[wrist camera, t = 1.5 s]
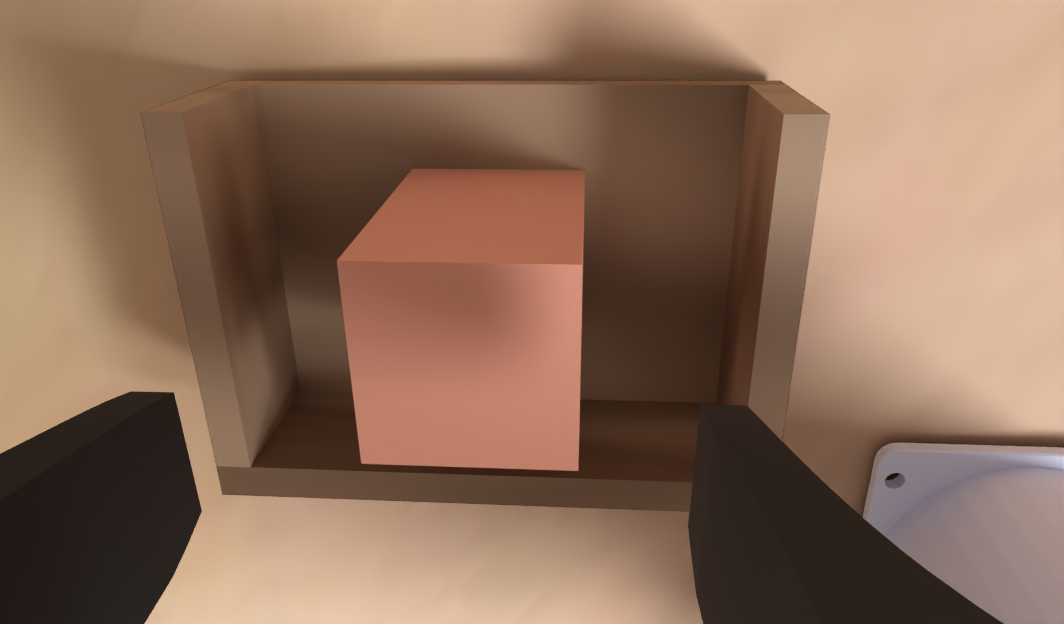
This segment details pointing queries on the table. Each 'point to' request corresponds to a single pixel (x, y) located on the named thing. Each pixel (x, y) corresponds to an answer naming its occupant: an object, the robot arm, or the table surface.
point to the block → (469, 320)
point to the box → (608, 265)
